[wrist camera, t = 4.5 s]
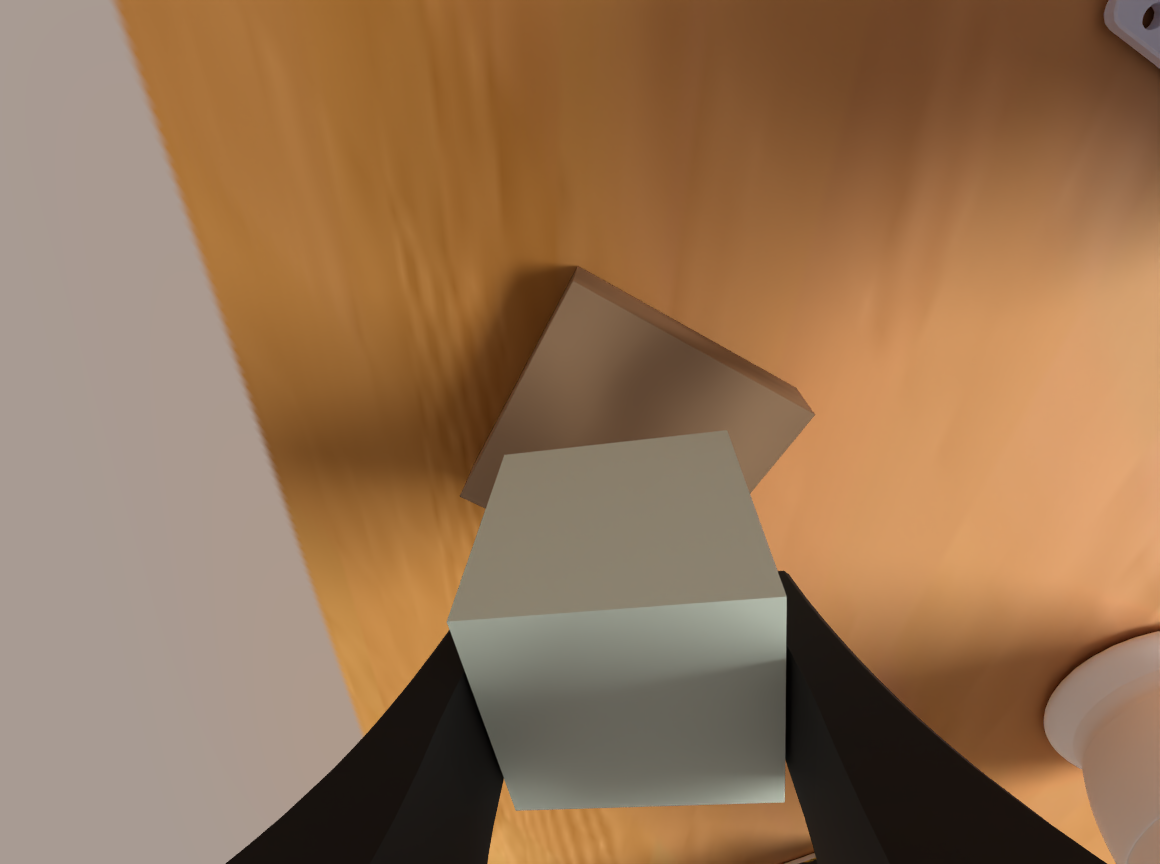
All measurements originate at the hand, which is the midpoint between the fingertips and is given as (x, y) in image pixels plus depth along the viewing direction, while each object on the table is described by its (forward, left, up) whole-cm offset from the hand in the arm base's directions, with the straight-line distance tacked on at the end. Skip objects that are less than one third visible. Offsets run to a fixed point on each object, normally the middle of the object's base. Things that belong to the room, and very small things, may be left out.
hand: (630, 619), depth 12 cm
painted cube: (0, 0, -2) cm, 3 cm away
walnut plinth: (0, 0, -9) cm, 9 cm away
